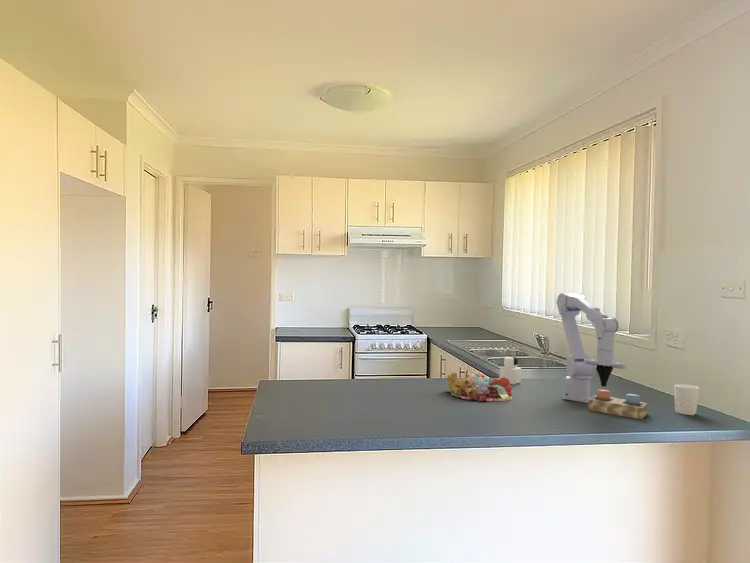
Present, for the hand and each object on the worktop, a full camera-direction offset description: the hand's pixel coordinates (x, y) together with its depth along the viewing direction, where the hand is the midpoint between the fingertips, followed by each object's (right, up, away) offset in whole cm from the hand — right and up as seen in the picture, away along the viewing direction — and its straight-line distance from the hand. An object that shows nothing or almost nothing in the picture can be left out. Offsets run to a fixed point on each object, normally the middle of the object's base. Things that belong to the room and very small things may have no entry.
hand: (603, 386), depth 194 cm
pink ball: (0, -6, 0) cm, 6 cm away
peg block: (+4, -9, -3) cm, 10 cm away
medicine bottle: (-24, -8, +44) cm, 51 cm away
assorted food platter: (-44, -8, +17) cm, 48 cm away
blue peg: (+8, -6, -6) cm, 11 cm away
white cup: (+30, -10, 0) cm, 32 cm away
